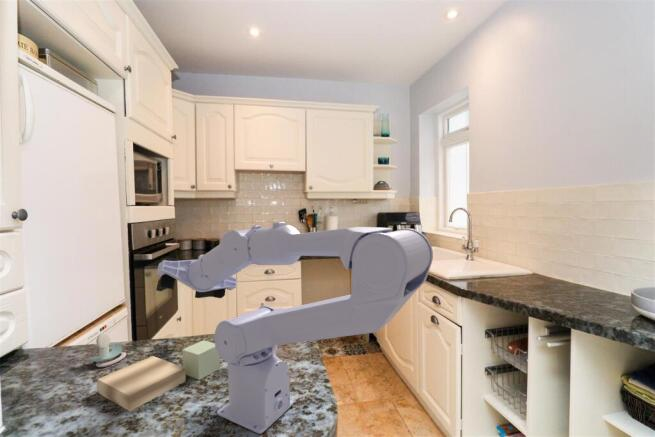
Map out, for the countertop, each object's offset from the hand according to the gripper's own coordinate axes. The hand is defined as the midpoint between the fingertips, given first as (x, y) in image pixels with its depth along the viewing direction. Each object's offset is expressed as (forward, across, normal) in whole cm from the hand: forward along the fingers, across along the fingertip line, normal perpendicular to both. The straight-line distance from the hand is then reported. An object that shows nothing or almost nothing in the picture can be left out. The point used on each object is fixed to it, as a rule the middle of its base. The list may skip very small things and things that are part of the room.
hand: (178, 289), depth 60 cm
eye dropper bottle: (-1, -21, +12) cm, 24 cm away
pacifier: (+25, +2, +9) cm, 27 cm away
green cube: (+5, -9, +14) cm, 18 cm away
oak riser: (+9, 0, +16) cm, 19 cm away
